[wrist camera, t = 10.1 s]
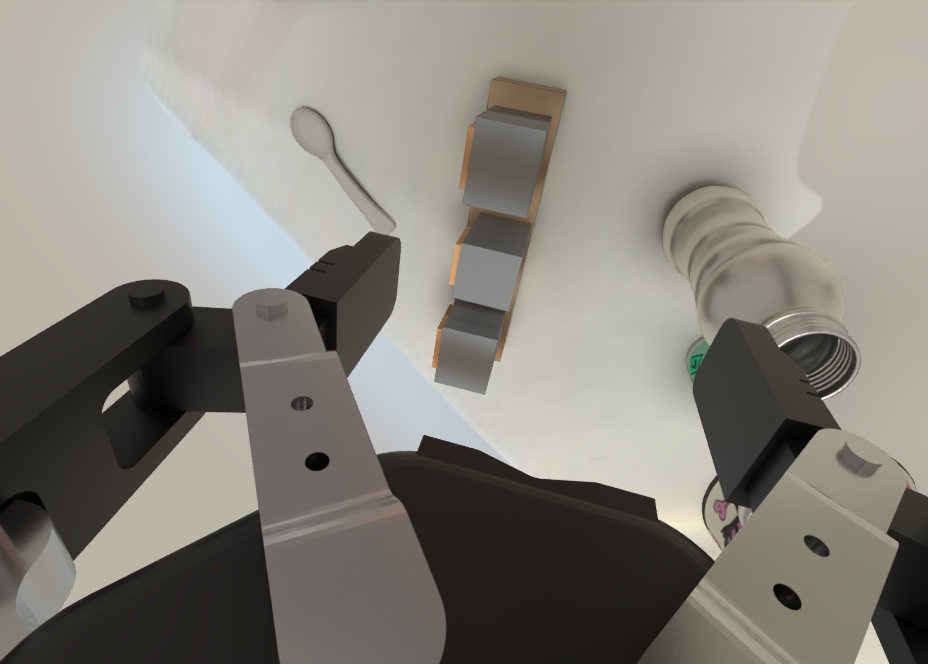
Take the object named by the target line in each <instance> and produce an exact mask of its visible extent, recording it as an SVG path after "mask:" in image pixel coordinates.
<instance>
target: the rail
mask: <svg viewBox="0 0 928 664" xmlns="http://www.w3.org/2000/svg"><path fill="white" fill-rule="evenodd" d="M565 95H566V90H560V89H555V88H550V87H545V86H540V85H535V84H530V83H525V82H519V81H514V80H509V79H504V78H499V77H498V78H495V79H492V81H491V87H490V93H489V99H488V105H487V110H486V111H485V112H483V113H482V114H480V115H479V116H477V117H476V122H474V123H473V124H472V125H470V126H469V127H468V132H467V139H466V145H465V152H464V159H463V165H462V172H461V178H460V185H459V188H461V189H465V191H464V197H463V204H464V205H469V206H470V212H469V218H468V224H467V226H471V227H472V225H473V224H474V222H475V220H476V219H477V217H478V215H479V214H480V212H482V213H487V214H491V215H495V216H499V217H504V218H508V219H512V220H516V221H521V222H525V223H529V224H531V228H530V232H529V236H528V240H527V244H526V248H525V252H524V256H523V260H522V264H521V268H520V271H519V275H518V279H517V283H516V286H515V290H514V294H513V297H512V301H511V305H510V309H509V311H505V310H501V309H497V308H493V307H489V306H485V305H481V304H477V303H473V302H469V301H465V300H461V299H457V298H455V301H454V305H452V304H450V305H449V307H448V309H447V311H446V313H445V315H444V317H443V319H442V321H441V323H440V325H439V327H438V330H437V337H436V343H435V350H434V356H433V363H432V367H434V368H436V374H435V381H434V382H437V383H441V384H445V385H449V386H453V387H457V388H461V389H464V390H468V391H472V392H476V393H480V394H484V395H485V392H486V388H487V385H488V381H489V378H490V374H491V370H492V367H493V363H494V360H495V361H499V362H500V360H501V356H502V352H503V348H504V344H505V340H506V336H507V332H508V328H509V324H510V320H511V316H512V312H513V308H514V304H515V299H516V295H517V291H518V287H519V283H520V279H521V275H522V271H523V267H524V263H525V259H526V254H527V250H528V246H529V242H530V238H531V234H532V230H533V226H534V222H535V218H536V213H537V209H538V205H539V201H540V197H541V193H542V189H543V185H544V181H545V177H546V173H547V168H548V164H549V160H550V156H551V152H552V148H553V144H554V140H555V136H556V132H557V127H558V123H559V119H560V115H561V111H562V107H563V103H564V99H565Z"/></svg>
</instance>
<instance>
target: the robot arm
mask: <svg viewBox="0 0 928 664" xmlns="http://www.w3.org/2000/svg"><path fill="white" fill-rule="evenodd" d="M400 253H401V242H400V239H399V238H397V237H392V236H388V235H384V234H380V233H376V232H371V231H370V232H369V233H367V234H366V235H365V236H364V237H363V238H362V239H361V240H360V241H359V242H358V243H356V244H355V245H354V246H349V245H345V246H342V247H339V248H336V249H333V250H330V251H329V252H327V253H326V254H325V255H324V256H323V257H321V258H320V259H319V261H318V262H316V263H314V264H313V265H312V266H311V267H310V269H307V270H306V271H305V272H304V273H303V274H301V275H300V276H299V277H298V278H297V279H296V280H294V281H293V282H292V283H291V284H290V285H288V286H287V287H286V288H285V289H278V288H268V289H260V290H255V291H252V292H249V293H246V294H244V295H242V296H241V297H239V298H238V299H237V300H236V301H235V302H234V304H233V307H232V309H225V308H209V307H192V303H191V297H190V292H189V290H188V289H187V288H186V287H185V286H183V285H182V284H179V283H177V282H173V281H168V280H141V281H135V282H131V283H127V284H124V285H121V286H119V287H116V288H114V289H112V290H111V291H109V292H107V293H106V294H104V295H103V296H101V297H99V298H98V299H96V300H94V301H92V302H91V303H89V304H87V305H86V306H84V307H82V308H81V309H79V310H77V311H76V312H74V313H72V314H71V315H69V316H67V317H66V318H64V319H62V320H61V321H59V322H57V323H56V324H54V325H52V326H51V327H49V328H47V329H46V330H44V331H42V332H41V333H39V334H37V335H36V336H34V337H32V338H31V339H29V340H27V341H26V342H24V343H23V344H21V345H19V346H17V347H16V348H14V349H12V350H11V351H9V352H7V353H6V354H4V355H2V356H1V357H0V664H854V663H855V660H856V657H857V655H858V652H859V650H860V647H861V644H862V642H863V639H864V636H865V634H866V631H867V629H868V626H869V623H870V621H871V622H872V624H873V626H874V629H875V631H876V633H877V636H878V638H879V640H880V643H881V645H882V647H883V650H884V652H885V654H886V657H887V659H888V661H889V664H928V497H927V496H925V495H922V494H920V493H918V492H916V491H914V490H911V489H909V488H907V487H906V486H907V478H906V475H905V473H904V472H903V470H902V469H901V467H900V466H899V465H898V464H897V463H896V462H895V461H894V460H893V459H892V458H891V457H890V456H889V455H888V454H886V453H885V452H884V451H883V450H881V449H880V448H878V447H877V446H875V445H874V444H872V443H870V442H869V441H867V440H865V439H863V438H861V437H859V436H856V435H854V434H852V433H849V432H846V431H842V430H841V429H840V427H839V425H838V424H837V422H836V421H835V419H834V418H833V416H832V415H831V413H830V411H829V410H828V408H827V407H826V405H825V404H824V402H823V401H822V399H821V398H820V397H818V393H817V391H816V390H815V388H814V387H813V385H811V384H810V380H809V379H808V377H807V376H806V374H805V373H804V371H803V370H802V368H801V366H799V365H798V364H797V363H796V362H795V361H794V360H792V359H791V358H790V357H789V356H788V355H787V354H785V353H784V352H783V351H781V350H780V348H779V347H778V345H777V343H776V342H775V340H774V338H773V337H772V335H771V334H770V332H769V330H768V329H767V327H766V326H764V325H760V324H756V323H751V322H747V321H743V320H739V319H735V318H729V319H727V320H726V321H725V322H724V323H723V324H722V326H721V327H720V329H719V331H718V333H717V334H716V336H715V338H714V340H713V342H712V344H711V345H710V347H709V349H708V351H707V353H706V355H705V356H704V358H703V360H702V362H701V364H700V366H699V368H698V369H697V372H696V374H695V377H694V382H693V395H694V399H695V402H696V405H697V409H698V412H699V416H700V419H701V422H702V426H703V429H704V432H705V436H706V439H707V442H708V446H709V449H710V453H711V456H712V459H713V463H714V466H715V469H716V473H717V476H718V479H719V483H720V486H721V490H722V493H723V496H724V500H725V502H728V503H732V504H735V505H739V506H743V507H746V508H750V509H751V510H752V515H751V516H750V517H749V518H748V520H747V521H746V522H745V524H744V525H743V526H742V527H741V529H740V530H739V531H738V532H737V534H736V535H735V536H734V537H733V539H732V540H731V541H730V543H729V544H728V545H727V546H726V548H725V549H724V550H723V551H722V553H721V554H720V555H719V557H718V558H717V559H716V560H715V561H714V560H713V559H712V558H711V557H710V556H709V555H708V554H707V553H706V552H705V551H703V550H702V549H701V548H700V547H699V546H697V545H696V544H695V543H694V542H693V541H692V540H690V539H689V538H687V537H686V536H685V535H683V534H682V533H680V532H679V531H678V530H676V529H674V528H673V527H671V526H669V525H668V524H666V523H664V522H662V521H660V520H658V517H657V510H656V503H655V499H654V498H650V497H647V496H643V495H640V494H636V493H632V492H629V491H625V490H622V489H618V488H614V487H611V486H607V485H603V484H600V483H596V482H581V481H566V480H551V479H539V478H535V477H532V476H529V475H527V474H525V473H523V472H521V471H519V470H517V469H515V468H513V467H511V466H509V465H507V464H505V463H503V462H501V461H499V460H497V459H495V458H494V457H492V456H489V455H488V454H486V453H483V452H482V451H480V450H477V449H473V448H469V447H466V446H462V445H458V444H455V443H451V442H448V441H444V440H440V439H437V438H433V437H429V436H426V435H424V436H423V438H422V441H421V443H420V446H419V448H418V451H395V452H388V453H381V454H377V455H376V453H375V450H374V448H373V445H372V442H371V440H370V437H369V435H368V432H367V429H366V427H365V424H364V422H363V419H362V416H361V414H360V411H359V409H358V406H357V403H356V401H355V398H354V396H353V393H352V391H351V388H350V385H349V383H348V380H347V378H348V376H349V375H350V373H351V372H352V370H353V369H354V368H355V366H356V365H357V363H358V362H359V360H360V359H361V357H362V356H363V355H364V353H365V352H366V350H367V349H368V347H369V346H370V344H371V343H372V342H373V340H374V339H375V337H376V336H377V334H378V333H379V331H380V330H381V329H382V327H383V326H384V324H385V323H386V321H387V320H388V318H389V317H390V315H391V313H392V311H393V308H394V305H395V301H396V296H397V286H398V275H399V264H400ZM126 379H127V381H128V384H129V388H130V390H129V391H128V392H126V393H125V394H124V395H123V396H122V397H121V398H120V399H118V400H117V401H116V402H115V403H114V404H113V405H111V406H110V407H109V408H108V409H107V410H106V411H104V412H103V413H102V409H103V405H104V403H105V400H106V399H107V397H108V396H109V395H110V393H111V392H112V391H113V390H114V389H115V388H117V387H118V386H119V385H120V384H121V383H123V382H124V381H125V380H126ZM206 412H238V413H239V412H240V413H246V416H247V424H248V432H249V440H250V447H251V455H252V462H253V470H254V477H255V485H256V492H257V500H258V508H259V509H258V510H257V511H255V512H253V513H251V514H249V515H247V516H245V517H243V518H241V519H239V520H237V521H235V522H233V523H231V524H229V525H227V526H225V527H223V528H221V529H219V530H217V531H215V532H213V533H211V534H209V535H207V536H205V537H203V538H201V539H199V540H197V541H195V542H193V543H191V544H189V545H187V546H185V547H183V548H181V549H179V550H177V551H175V552H173V553H171V554H169V555H167V556H166V557H163V558H161V559H159V560H157V561H155V562H153V563H151V564H150V565H148V566H146V567H144V568H142V569H140V570H138V571H136V572H134V573H132V574H130V575H128V576H126V577H124V578H122V579H120V580H118V581H116V582H114V583H112V584H110V585H108V586H106V587H104V588H102V589H100V590H98V591H96V592H94V593H92V594H90V595H88V596H86V597H84V598H83V599H81V600H79V601H77V602H75V603H74V604H72V605H70V606H68V607H66V608H65V609H63V610H62V611H60V612H59V613H57V612H58V611H59V610H60V608H61V607H62V605H63V604H64V602H65V601H66V599H67V598H68V596H69V594H70V592H71V590H72V588H73V585H74V582H75V577H76V569H75V564H74V562H73V561H74V560H75V559H76V557H77V556H78V555H79V554H80V553H81V552H82V551H83V550H84V548H85V547H86V546H87V545H88V544H89V543H90V542H91V541H92V540H93V538H94V537H95V536H96V535H97V534H98V533H99V532H100V531H101V529H102V528H103V527H104V526H105V525H106V524H107V523H108V522H109V521H110V519H111V518H112V517H113V516H114V515H115V514H116V513H117V512H118V510H119V509H120V508H121V507H122V506H123V505H124V503H126V501H127V500H128V499H129V498H130V497H131V496H132V495H133V494H134V493H135V491H136V490H137V489H138V488H139V487H140V486H141V485H142V484H143V482H144V481H145V480H146V479H147V478H148V477H149V476H150V475H151V474H152V472H153V471H154V470H155V469H156V468H157V467H158V466H159V465H160V463H161V462H162V461H163V460H164V459H165V458H166V457H167V455H168V454H169V453H170V452H171V451H172V450H173V449H174V448H175V447H176V445H177V444H178V443H179V442H180V441H181V440H182V439H183V438H184V437H185V435H186V434H187V433H188V432H189V431H190V430H191V429H192V428H193V427H194V425H195V424H196V423H197V422H198V421H199V420H200V419H201V417H202V416H203V415H204V414H205V413H206Z"/></svg>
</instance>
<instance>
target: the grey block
mask: <svg viewBox="0 0 928 664" xmlns="http://www.w3.org/2000/svg"><path fill="white" fill-rule="evenodd" d="M530 228H531V224H529V223H525V222H521V221H516V220H512V219H508V218H504V217H499V216H495V215H491V214H487V213H482V212H480V214H479V215H478V217H477V219H476V220H475V222H474V224H473V225H472V227H471V226H467V227H466V229H465V230H464V232H463V233H462V235H461V237H460V238H459V240H458V241H457V243H456V245H455V251H454V257H453V262H452V268H451V274H450V280H449V284H450V285H454V289H453V294H452V297H453V298H457V299H461V300H465V301H469V302H473V303H477V304H481V305H485V306H489V307H493V308H497V309H501V310H505V311H509V309H510V305H511V301H512V297H513V294H514V290H515V286H516V283H517V279H518V275H519V271H520V268H521V264H522V260H523V256H524V252H525V248H526V244H527V240H528V236H529V232H530Z"/></svg>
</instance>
